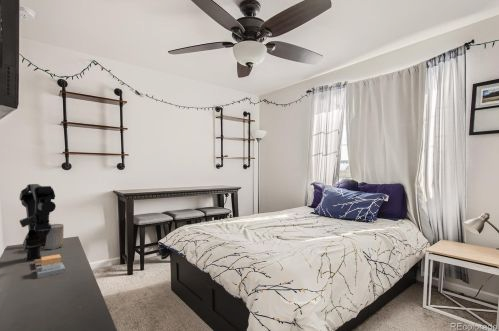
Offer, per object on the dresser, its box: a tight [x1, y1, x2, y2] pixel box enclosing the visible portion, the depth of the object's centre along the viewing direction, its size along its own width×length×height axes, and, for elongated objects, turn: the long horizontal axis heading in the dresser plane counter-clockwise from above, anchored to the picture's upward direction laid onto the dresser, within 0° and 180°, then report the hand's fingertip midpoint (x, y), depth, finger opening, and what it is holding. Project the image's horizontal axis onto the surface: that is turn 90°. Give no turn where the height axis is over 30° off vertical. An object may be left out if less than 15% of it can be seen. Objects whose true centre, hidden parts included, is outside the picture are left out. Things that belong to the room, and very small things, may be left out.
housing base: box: [41, 261, 62, 271], centre depth 120 cm, size 7×6×2 cm
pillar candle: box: [43, 223, 64, 250], centre depth 155 cm, size 10×10×15 cm
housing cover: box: [41, 253, 62, 266], centre depth 120 cm, size 7×6×2 cm
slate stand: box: [35, 261, 66, 279], centre depth 120 cm, size 10×10×2 cm
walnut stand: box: [34, 259, 41, 269], centre depth 129 cm, size 10×10×2 cm
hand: (41, 240), depth 129 cm, fingers open, 9 cm apart
